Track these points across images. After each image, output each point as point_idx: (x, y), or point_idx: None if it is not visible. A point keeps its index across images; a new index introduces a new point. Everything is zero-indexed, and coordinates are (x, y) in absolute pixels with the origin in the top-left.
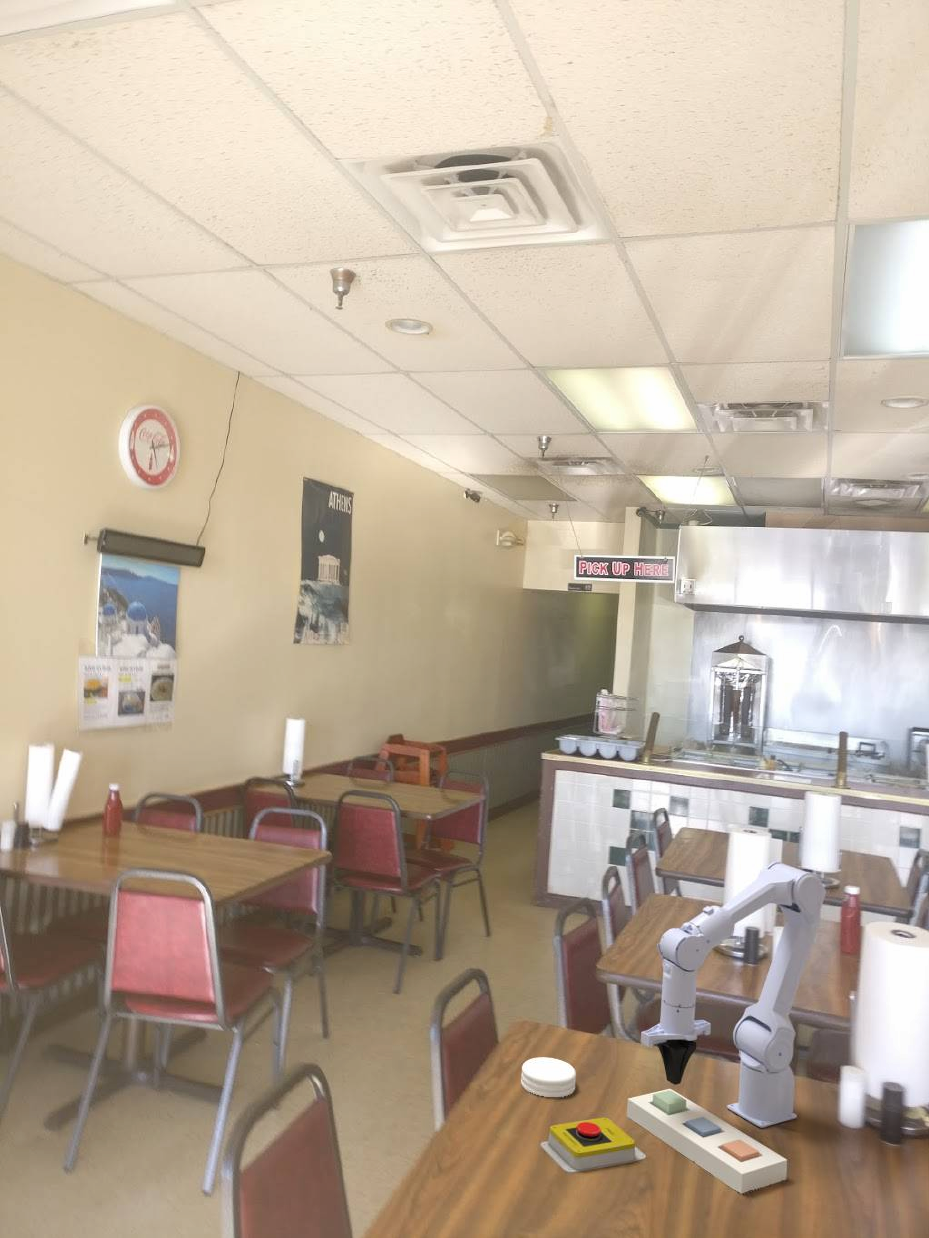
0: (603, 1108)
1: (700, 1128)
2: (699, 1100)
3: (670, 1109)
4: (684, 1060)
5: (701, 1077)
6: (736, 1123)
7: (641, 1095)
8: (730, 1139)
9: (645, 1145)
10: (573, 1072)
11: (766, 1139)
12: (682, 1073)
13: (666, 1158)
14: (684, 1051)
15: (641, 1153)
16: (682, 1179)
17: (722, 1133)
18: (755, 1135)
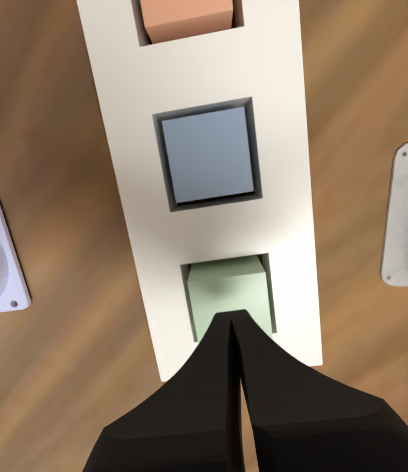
0: (336, 378)
1: (235, 134)
2: (79, 352)
3: (254, 267)
4: (217, 369)
5: (14, 435)
6: (48, 237)
7: None
8: (166, 61)
9: (355, 203)
10: None
11: (13, 144)
12: (214, 329)
13: (346, 129)
14: (263, 408)
15: (398, 167)
16: (381, 13)
17: (168, 105)
18: (31, 171)
